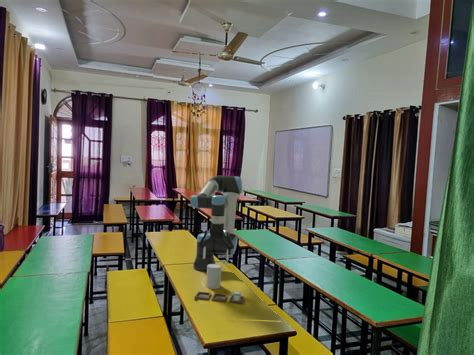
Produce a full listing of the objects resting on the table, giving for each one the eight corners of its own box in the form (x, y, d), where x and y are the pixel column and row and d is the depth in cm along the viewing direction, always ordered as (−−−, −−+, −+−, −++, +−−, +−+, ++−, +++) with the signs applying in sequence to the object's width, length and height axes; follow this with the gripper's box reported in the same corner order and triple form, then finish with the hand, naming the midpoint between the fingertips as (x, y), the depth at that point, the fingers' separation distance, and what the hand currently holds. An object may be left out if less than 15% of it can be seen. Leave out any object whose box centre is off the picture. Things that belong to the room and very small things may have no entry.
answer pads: (201, 287, 193) (201, 287, 193) (247, 292, 189) (247, 291, 189) (198, 292, 185) (198, 292, 185) (245, 298, 181) (245, 297, 181)
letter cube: (232, 298, 178) (233, 290, 178) (240, 298, 179) (240, 291, 178) (232, 302, 174) (233, 294, 174) (240, 302, 174) (241, 294, 174)
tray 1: (198, 294, 183) (198, 291, 183) (211, 295, 182) (211, 292, 182) (194, 299, 176) (194, 296, 176) (207, 301, 175) (208, 298, 175)
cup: (218, 289, 190) (219, 268, 190) (204, 288, 191) (205, 266, 191) (221, 285, 198) (222, 264, 198) (208, 283, 199) (209, 263, 199)
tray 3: (230, 298, 181) (230, 295, 181) (244, 299, 180) (244, 296, 180) (228, 303, 174) (228, 300, 173) (242, 305, 173) (242, 302, 172)
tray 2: (214, 296, 182) (214, 293, 182) (227, 297, 181) (227, 294, 181) (211, 301, 175) (211, 298, 175) (225, 303, 174) (225, 300, 174)
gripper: (194, 222, 190) (192, 259, 191) (238, 225, 187) (236, 263, 188) (197, 219, 197) (196, 255, 199) (240, 223, 194) (238, 259, 196)
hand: (215, 259), depth 194 cm, fingers open, 13 cm apart
